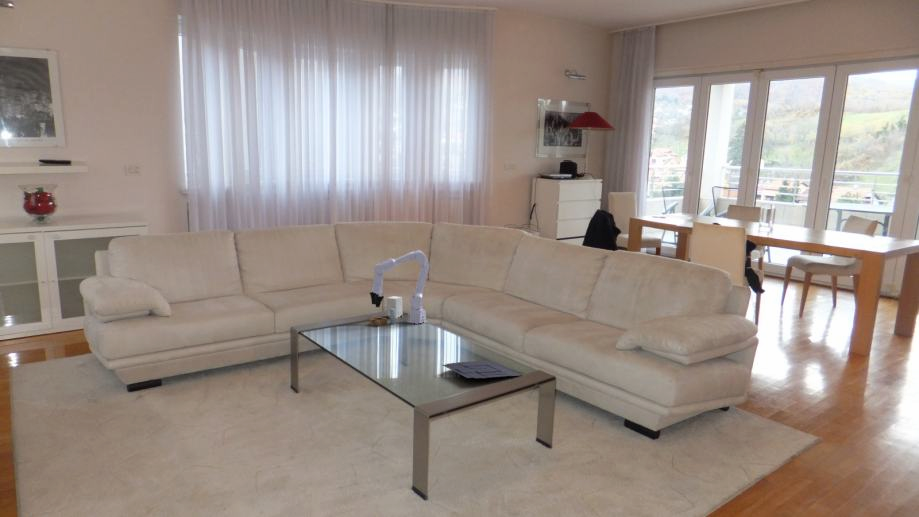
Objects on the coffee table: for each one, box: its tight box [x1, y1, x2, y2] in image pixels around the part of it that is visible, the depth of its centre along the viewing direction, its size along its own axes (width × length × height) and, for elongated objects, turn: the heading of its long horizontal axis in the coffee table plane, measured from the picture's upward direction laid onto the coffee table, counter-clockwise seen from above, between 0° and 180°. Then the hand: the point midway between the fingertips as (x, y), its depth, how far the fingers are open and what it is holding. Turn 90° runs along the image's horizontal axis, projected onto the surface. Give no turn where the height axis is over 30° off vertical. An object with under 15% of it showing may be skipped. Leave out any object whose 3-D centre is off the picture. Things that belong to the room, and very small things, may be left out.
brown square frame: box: [368, 316, 388, 327], centre depth 350 cm, size 8×8×4 cm
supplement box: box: [386, 295, 403, 319], centre depth 370 cm, size 7×7×13 cm
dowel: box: [389, 309, 396, 325], centre depth 353 cm, size 3×3×9 cm
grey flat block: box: [442, 360, 522, 379], centre depth 267 cm, size 24×30×4 cm
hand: (375, 305), depth 352 cm, fingers open, 7 cm apart
